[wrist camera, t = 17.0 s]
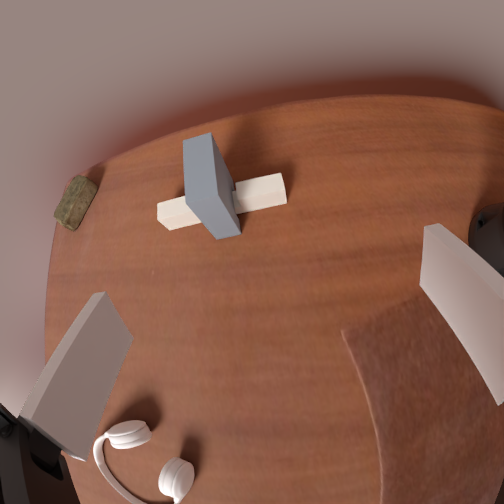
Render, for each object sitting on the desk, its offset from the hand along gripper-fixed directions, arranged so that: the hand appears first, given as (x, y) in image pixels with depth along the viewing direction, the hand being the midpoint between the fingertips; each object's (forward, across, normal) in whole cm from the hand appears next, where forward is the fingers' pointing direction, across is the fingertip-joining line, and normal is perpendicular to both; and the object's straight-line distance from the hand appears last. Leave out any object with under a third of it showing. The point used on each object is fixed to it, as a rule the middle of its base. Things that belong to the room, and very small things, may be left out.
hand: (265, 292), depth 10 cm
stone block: (+42, -39, 0) cm, 58 cm away
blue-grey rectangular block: (+35, -7, -7) cm, 36 cm away
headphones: (+5, -29, -38) cm, 48 cm away
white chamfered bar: (+35, -7, -7) cm, 36 cm away
